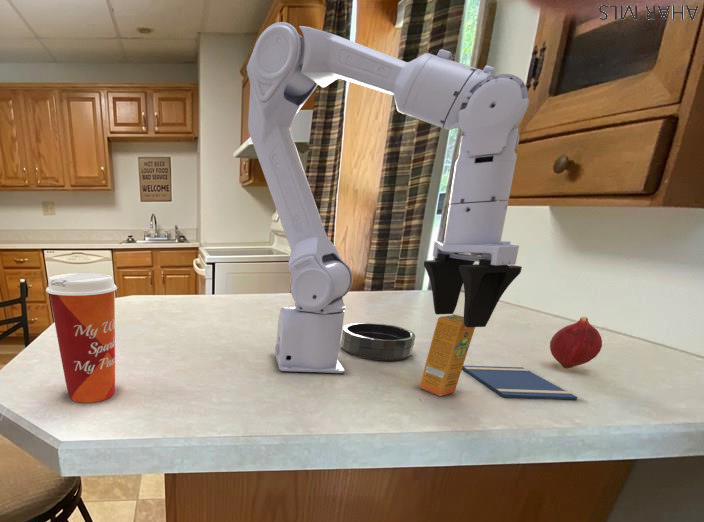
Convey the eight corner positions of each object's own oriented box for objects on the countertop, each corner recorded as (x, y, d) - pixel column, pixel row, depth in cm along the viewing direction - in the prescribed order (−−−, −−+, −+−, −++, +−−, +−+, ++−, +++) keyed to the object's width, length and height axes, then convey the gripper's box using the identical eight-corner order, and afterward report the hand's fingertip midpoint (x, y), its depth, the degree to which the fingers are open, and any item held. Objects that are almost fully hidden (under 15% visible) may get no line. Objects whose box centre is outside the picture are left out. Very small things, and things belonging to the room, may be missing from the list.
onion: (600, 376, 62) (622, 323, 59) (556, 373, 63) (575, 320, 60) (576, 363, 67) (595, 313, 64) (535, 360, 68) (552, 311, 65)
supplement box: (442, 397, 55) (461, 322, 51) (418, 388, 58) (435, 316, 54) (458, 393, 56) (478, 319, 52) (434, 384, 59) (451, 313, 55)
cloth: (503, 397, 55) (504, 393, 55) (460, 367, 65) (461, 364, 65) (576, 400, 54) (577, 396, 54) (521, 369, 64) (522, 366, 64)
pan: (350, 360, 68) (353, 339, 67) (334, 340, 78) (336, 322, 77) (422, 362, 67) (427, 341, 66) (396, 342, 77) (400, 323, 76)
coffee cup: (92, 412, 50) (80, 284, 44) (45, 397, 54) (28, 278, 48) (137, 389, 57) (131, 275, 51) (92, 376, 61) (82, 270, 55)
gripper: (561, 196, 41) (530, 332, 46) (479, 203, 55) (461, 307, 60) (485, 201, 42) (462, 334, 47) (422, 207, 56) (409, 309, 60)
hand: (458, 319), depth 53 cm, fingers open, 7 cm apart
